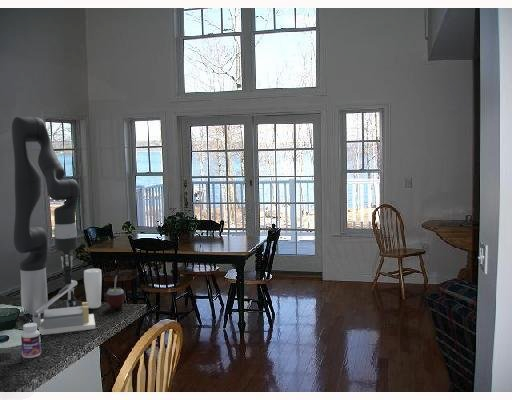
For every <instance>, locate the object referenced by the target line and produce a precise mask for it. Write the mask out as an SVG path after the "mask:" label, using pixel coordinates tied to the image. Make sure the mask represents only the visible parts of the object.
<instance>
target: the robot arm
mask: <svg viewBox="0 0 512 400" xmlns="http://www.w3.org/2000/svg"><path fill="white" fill-rule="evenodd" d="M11 137H12V148H13V156H14V157H13V158H14V197H15V198H14V199H15V200H14V201H15V203H14V204H15V205H14V207H15V212H14V213H15V215H14V227H13V244H14V248H15V249H16V251H17V252H18V253H20V254H26V253H29V254H28V256H27V257H26V258H24V259H23V260H22V261H20V264H19V269H20V270H19V271H20V285H21V286H20V303H21V308H22V307H23V308H24V309H25V311H27V312H28V313H29V314H30V315H29V316H33V314H34V311H35V310H36V309H37V310H38V309H39V308H40V307H41V306H43V305H44V304H45V303H47V302H48V301H49V300H48V283H47V266H46V265H47V261H48V236H47V235H48V234H47V233H46V230H45V229H44V228H43V227H41V226H31V217H32V215H33V211H34V210H35V208H36V205H37V204H38V202H39V200H40V198H41V194H42V177H41V175H40V172H39V171H38V169H37V167H36V165H34V163H33V162H32V160H31V159H30V156H29V155H28V150H27V143H36V142H37V143H38V144H39V147H40V150H39V154H38V157H37V158H38V159H37V163H38V166H39V167H38V168H39V169H40V171H41V172H42V174H43V177H44V179H45V183H46V192H47V195H48V197H49V198H50V199H52V200H53V201H63V200H64V204H62V205H60V206H57V207H55V208H54V211H53V214H54V215H53V216H54V217H53V218H54V220H53V221H54V228H53V229H54V230H53V231H54V233H53V234H54V248H55V250H56V251H60V252H61V251H62V253H60V260H61V268H62V269H63V271H62V273H63V277H64V283H65V284H71V280H72V268H73V259H74V256H73V252H71V251H74V250H76V249H78V231H77V229H78V228H77V224H76V209H77V205H78V199H79V197H80V196H79V195H80V185H79V183H78V181H76V180H75V179H73V178H72V179H71V178H67V179H64V177H65V176H66V171H65V169H64V167H63V165H62V163H61V162H60V159H58V156H57V154H56V152H55V149H54V146H53V144H52V140H51V137H50V134H49V131H48V128H47V126H46V123H45V121H44V120H43V119H42V118H40V117H34V116H16V117H14V118H13V120H12V123H11ZM44 310H49V306H48V307H47V308H46V309H44ZM44 310H43V311H42V312H40V313H39V314H40V315H41V314H44Z"/></svg>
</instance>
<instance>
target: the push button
mask: <svg viewBox="0 0 512 400" xmlns="http://www.w3.org/2000/svg"><path fill="white" fill-rule="evenodd" d="M74 281H75V280H73V279H71V284H72V283H73V282H74ZM66 285H68V286H69V285H70V284H65V282H64V283H63V288H64V287H65V286H66ZM77 285H78V284H77ZM77 285H76V286H74V287H73V288H72V289H70V290H69V291H68V292H67V296H66V308H68V307H74V306H76V304H77V303H78V302H77V297H76V296H75V292H74V290H75V289H76V288H77Z"/></svg>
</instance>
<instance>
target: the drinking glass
mask: <svg viewBox="0 0 512 400" xmlns="http://www.w3.org/2000/svg"><path fill="white" fill-rule="evenodd" d="M102 280H103V276H102V269H100V268H88V269H85V270H83V283H84V291H85V297H86V302H88V309H98V308H100V307H101V306H102V303H101V302H102V301H101V300H102V285H103V284H102V283H103V282H102Z"/></svg>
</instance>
